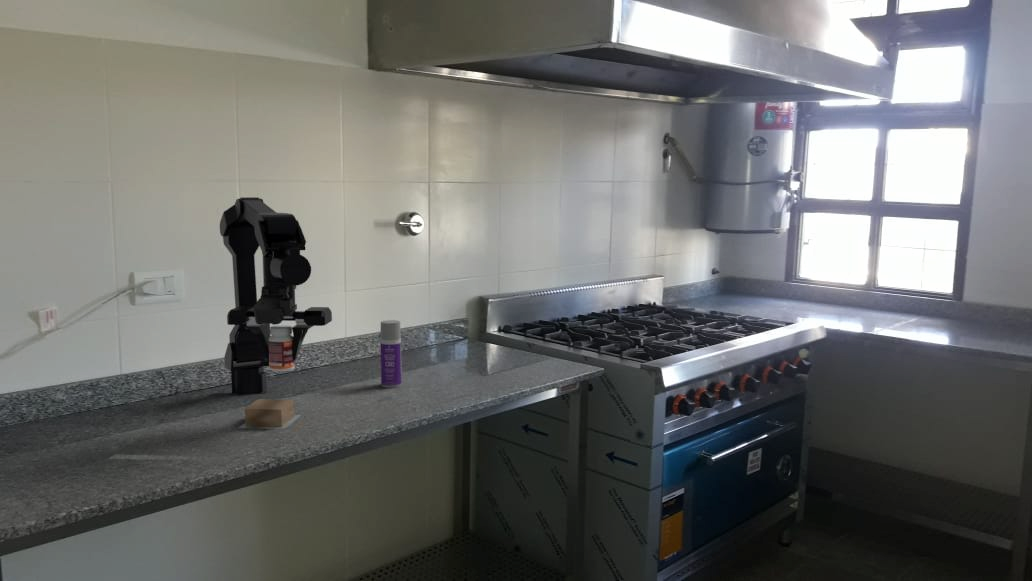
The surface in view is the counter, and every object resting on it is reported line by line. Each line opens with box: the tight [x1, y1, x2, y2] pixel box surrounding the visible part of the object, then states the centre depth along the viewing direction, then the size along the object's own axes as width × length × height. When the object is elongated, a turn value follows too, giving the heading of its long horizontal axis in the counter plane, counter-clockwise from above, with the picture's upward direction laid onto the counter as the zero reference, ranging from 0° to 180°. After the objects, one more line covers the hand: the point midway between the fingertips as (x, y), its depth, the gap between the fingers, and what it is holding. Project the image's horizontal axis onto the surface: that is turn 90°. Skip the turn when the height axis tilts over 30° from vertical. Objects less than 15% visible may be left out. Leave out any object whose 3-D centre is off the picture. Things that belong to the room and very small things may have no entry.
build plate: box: [238, 414, 301, 430], centre depth 154 cm, size 17×12×1 cm
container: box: [380, 319, 402, 389], centre depth 183 cm, size 5×5×15 cm
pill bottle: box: [268, 324, 295, 372], centre depth 153 cm, size 5×5×8 cm
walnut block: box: [244, 398, 295, 427], centre depth 153 cm, size 7×7×3 cm
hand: (281, 359), depth 154 cm, fingers closed on pill bottle, 5 cm apart
